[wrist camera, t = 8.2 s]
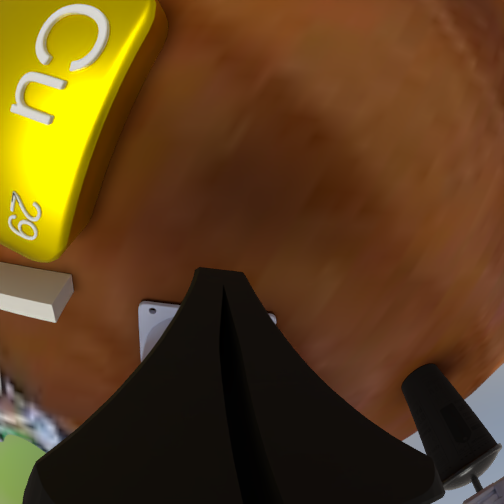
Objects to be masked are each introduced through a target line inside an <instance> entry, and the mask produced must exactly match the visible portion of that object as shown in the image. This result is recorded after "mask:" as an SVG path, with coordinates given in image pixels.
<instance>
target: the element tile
mask: <svg viewBox="0 0 504 504" xmlns="http://www.w3.org/2000/svg"><path fill="white" fill-rule="evenodd" d="M168 27H169V23H168V20H167V17H166V14H165V12H164V10H163V8H162V7H161V5H160V3H159V1H158V0H0V244H2V245H3V246H5V247H7V248H9V249H11V250H13V251H15V252H17V253H19V254H21V255H22V256H24V257H26V258H28V259H30V260H32V261H36V262H47V263H49V262H52V261H54V260H56V259H58V258H60V256H61V255H62V254H63V253H64V251H65V250H66V249H67V248H68V247H69V245H70V244H71V243H72V242H73V241H74V239H75V238H76V237H77V236H78V235H79V234H80V232H81V231H82V230H83V229H84V228H85V227H86V225H87V224H88V223H89V221H90V219H91V217H92V214H93V210H94V207H95V204H96V200H97V197H98V194H99V191H100V188H101V185H102V182H103V179H104V176H105V173H106V171H107V168H108V165H109V162H110V160H111V157H112V154H113V152H114V149H115V146H116V144H117V141H118V139H119V136H120V134H121V132H122V129H123V127H124V124H125V122H126V120H127V118H128V115H129V113H130V111H131V109H132V106H133V104H134V102H135V100H136V98H137V96H138V94H139V91H140V89H141V87H142V85H143V83H144V81H145V79H146V77H147V75H148V73H149V72H150V70H151V68H152V66H153V64H154V62H155V60H156V58H157V57H158V55H159V53H160V51H161V49H162V48H163V45H164V43H165V40H166V38H167V35H168Z"/></svg>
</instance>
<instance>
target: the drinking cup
mask: <svg viewBox="0 0 504 504" xmlns="http://www.w3.org/2000/svg"><path fill="white" fill-rule="evenodd" d="M402 391H403V394H404V396H405V398H406V401H407V403H408V406H409V409H410V411H411V414H412V416H413V419H414V421H415V424H416V427H417V429H418V432H419V435H420V438H421V440H422V443H423V446H424V449H425V452H426V454H427V456H429V457H431V458H432V459H433V461H434V464H435V466H436V469H437V471H438V474H439V476H440V479H441V482H442V484H443V487H444V490H453V489H456V488H460V487H462V486H465V485H467V484H469V483H471V482H472V483H473V485H474V488H475V490H476V492H477V493H478V492H479V491H481V490H482V489H483V488H482V486H481V484H480V482H479V480H478V477H479V476H481V475H482V474H483V473H484V472H485V471H486V470H487V469H488V468H489V466H490V465H491V464H492V463H493V461H494V460H495V458H496V456H497V454H498V452H499V451H500V450H501V448H502V445H501V444H500V443H499V444H497V443H496V441H495V440H494V439H493V437H492V436H491V434H490V433H489V432H488V430H487V429H486V428H485V427H484V425H483V424H482V422H481V421H480V420H479V418H478V417H477V416H476V415H475V413H474V412H473V411H472V409H471V408H470V407H469V406H468V404H467V403H466V402H465V401H464V399H463V398H462V397H461V396H460V394H459V393H458V392H457V391H456V389H455V388H454V387H453V386H452V384H451V383H450V382H449V381H448V379H447V378H446V377H445V376H444V375H443V373H442V372H441V371H440V370H439V369H438V367H437V366H436V365H435V364H427V365H424V366H422V367H420V368H418V369H417V370H415V371H414V372H413V373H411V374H410V375H409V376H408V377H407V378H406V379H405V381H404V382H403V384H402Z"/></svg>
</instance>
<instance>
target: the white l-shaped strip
mask: <svg viewBox="0 0 504 504" xmlns="http://www.w3.org/2000/svg"><path fill="white" fill-rule="evenodd" d="M73 292H74V289H73V282H72V274H66V273H60V272H54V271H48V270H42V269H36V268H31V267H25V266H20V265H14V264H9V263H4V262H0V309H1V310H5V311H9V312H13V313H17V314H20V315H24V316H29V317H33V318H37V319H41V320H46V321H50V322H55V323H56V322H57V320H58V318H59V316H60V315H61V313H62V311H63V309H64V307H65V306H66V304H67V302H68V300H69V299H70V297H71V295H72V294H73Z"/></svg>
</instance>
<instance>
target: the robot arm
mask: <svg viewBox="0 0 504 504" xmlns="http://www.w3.org/2000/svg"><path fill="white" fill-rule="evenodd" d="M150 308H155V309H156V310H151V309H150ZM138 315H139V338H140V354H141V364H140V365H139V366H138V367H137V368H136V370H135V371H134V372H133V373H132V374H131V375H130V376H129V378H128V379H127V380H126V381H125V382H124V383H123V384H122V386H121V387H120V388H119V389H118V390H117V391H116V392H115V393H114V394H113V395H112V396H111V397H110V398H109V399H108V400H107V401H106V402H105V403H104V404H103V405H102V406H101V407H100V408H99V409H98V410H97V411H96V412H95V413H94V414H92V415H91V416H90V417H89V418H88V419H87V420H86V421H85V422H84V423H83V424H82V425H81V426H80V427H78V428H77V429H76V430H75V431H74V432H73V433H71V434H70V435H69V436H68V437H66V438H65V439H64V440H63V441H61V442H60V443H59V444H58V445H56V446H55V447H54V448H52V449H51V450H50V451H49V452H47V453H46V454H45V455H44V456H42V457H41V458H40V459H39V460H37V461H36V463H35V465H34V467H33V469H32V472H31V474H30V476H29V479H28V483H27V486H26V488H25V491H24V496H23V504H431V503H433V502H435V501H437V500H439V499H441V498H442V497H443V496H444V494H445V490H444V487H443V484H442V482H441V479H440V476H439V474H438V471H437V469H436V466H435V464H434V461H433V459H432V458H431V457H429V456H427V455H425V454H423V453H421V452H420V451H418V450H416V449H414V448H412V447H411V446H409V445H407V444H405V443H403V442H402V441H400V440H398V439H397V438H395V437H393V436H392V435H390V434H389V433H387V432H386V431H384V430H383V429H381V428H380V427H379V426H377V425H376V424H374V423H373V422H371V421H370V420H369V419H367V418H366V417H365V416H363V415H362V414H361V413H359V412H358V411H357V410H356V409H354V408H353V407H352V406H351V405H350V404H348V403H347V402H346V401H345V400H344V399H343V398H341V397H340V396H339V395H338V394H337V393H336V392H334V391H333V390H332V389H331V388H330V387H329V386H328V385H327V384H326V383H325V382H324V381H323V380H322V379H321V378H320V377H319V376H318V375H317V374H316V373H315V372H314V371H313V370H312V369H311V368H310V367H309V366H308V365H307V364H306V363H305V361H304V360H303V359H302V358H301V357H300V356H299V354H298V353H297V352H296V351H295V350H294V348H293V347H292V346H291V345H290V343H289V342H288V341H287V339H286V338H285V337H284V336H283V334H282V333H281V331H280V330H279V329H278V327H277V326H276V321H277V320H276V317H275V315H273V314H270V313H267V311H266V310H265V308H264V307H263V305H262V304H261V302H260V300H259V299H258V297H257V295H256V294H255V292H254V290H253V289H252V287H251V285H250V283H249V282H248V280H247V278H246V276H245V275H244V273H243V272H237V271H228V270H219V269H211V268H202V267H199V268H197V269H196V270H195V273H194V277H193V280H192V283H191V285H190V287H189V289H188V292H187V294H186V296H185V298H184V300H183V301H182V303H181V305H174V304H166V303H158V302H150V301H142V302H141V303H140V304H139V308H138ZM463 504H504V477H502V478H501V479H499V480H498V481H496V482H495V483H492V484H491V485H489V486H487V487H486V488H484V489H482V490H481V491H479V492H478V493H476V494H474V495H473V496H471V497H470V498H468V499H466V500H465V501H464V502H463Z"/></svg>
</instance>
